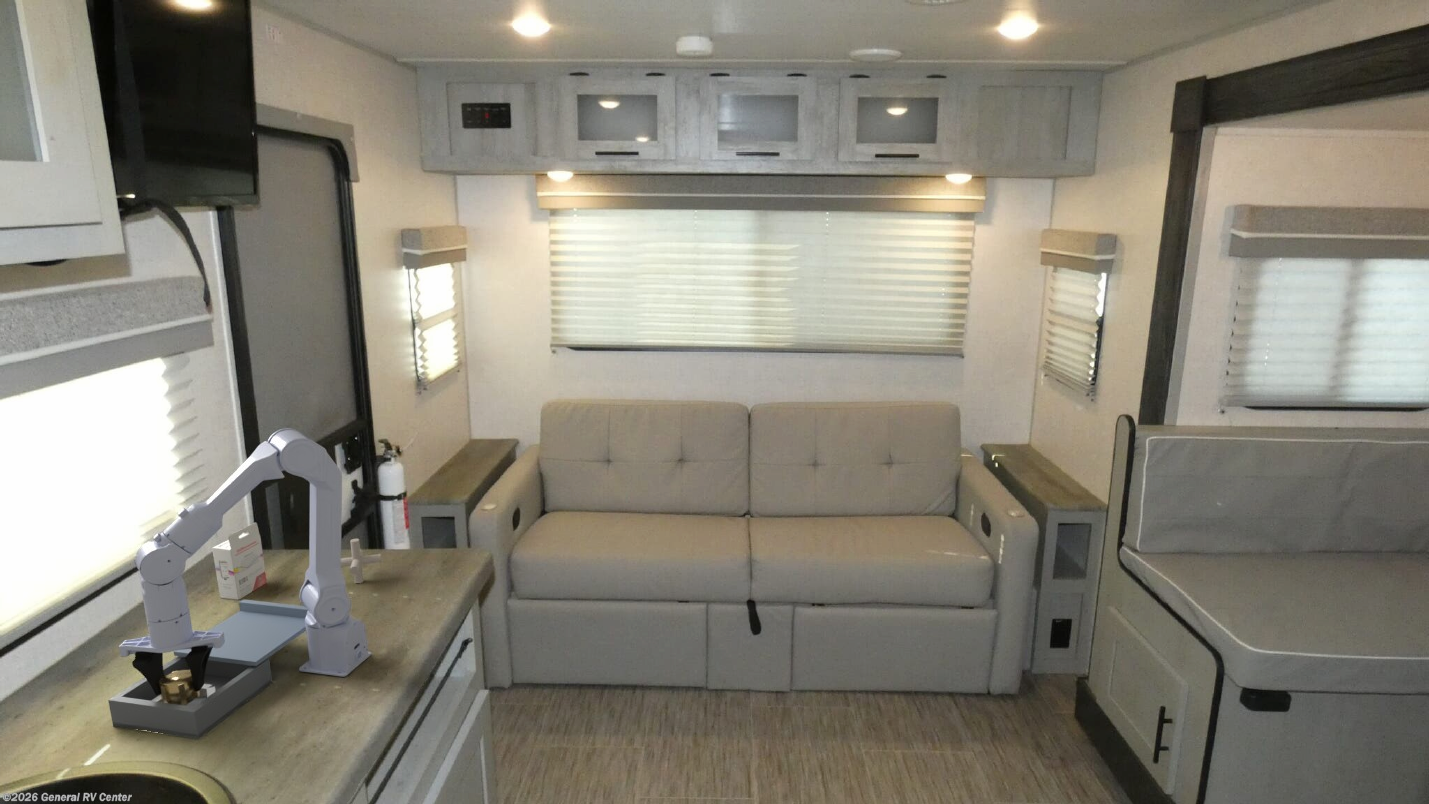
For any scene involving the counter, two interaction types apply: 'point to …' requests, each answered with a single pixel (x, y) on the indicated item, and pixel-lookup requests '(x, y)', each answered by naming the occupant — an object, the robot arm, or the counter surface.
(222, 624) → the lid
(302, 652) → the counter surface
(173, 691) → the ribbed brass cylinder
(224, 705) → the housing
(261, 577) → the ink cartridge box
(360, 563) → the pipe connector
